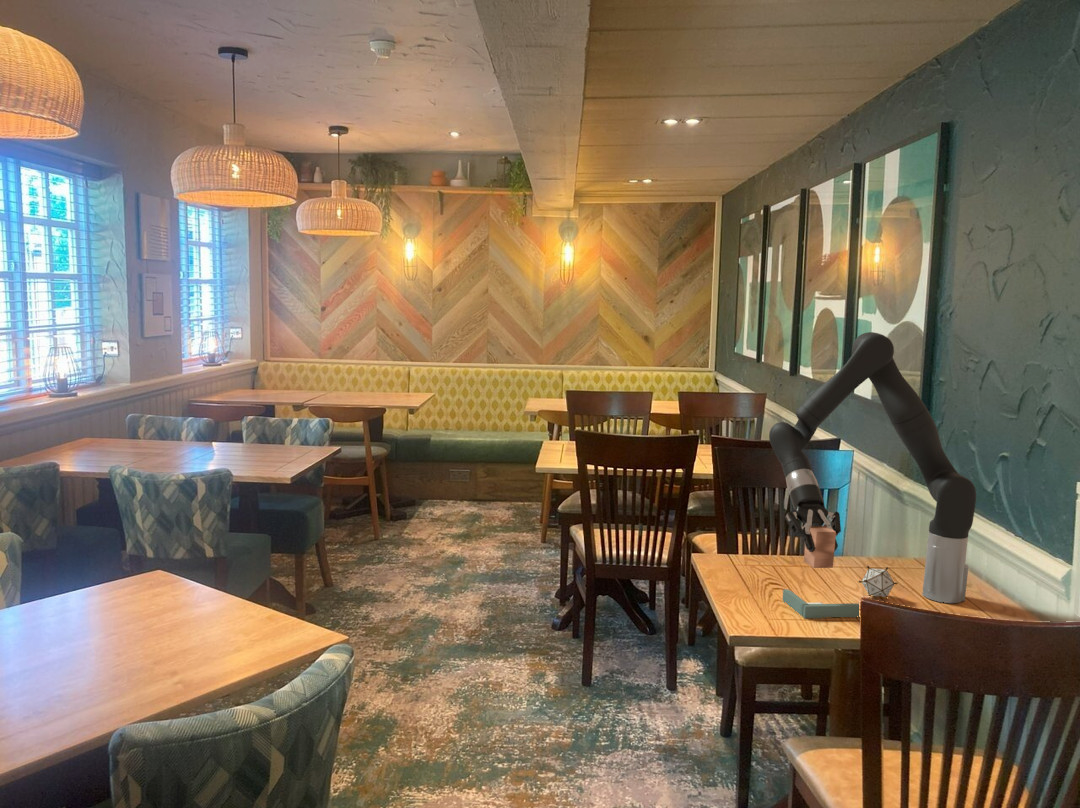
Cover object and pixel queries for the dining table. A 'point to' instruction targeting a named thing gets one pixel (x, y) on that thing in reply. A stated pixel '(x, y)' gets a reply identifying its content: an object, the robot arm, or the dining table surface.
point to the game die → (877, 582)
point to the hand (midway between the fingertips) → (823, 550)
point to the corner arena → (819, 607)
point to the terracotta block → (821, 547)
